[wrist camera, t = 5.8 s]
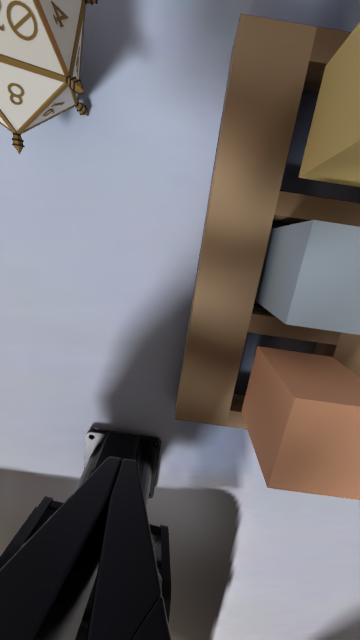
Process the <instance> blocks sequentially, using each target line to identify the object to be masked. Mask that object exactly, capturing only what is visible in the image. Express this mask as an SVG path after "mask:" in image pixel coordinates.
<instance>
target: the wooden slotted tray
mask: <svg viewBox="0 0 360 640" xmlns="http://www.w3.org/2000/svg"><path fill="white" fill-rule="evenodd" d="M351 33H352V32H346V31H340V30H334V29H328V28H322V27H316V26H310V25H304V24H298V23H292V22H286V21H280V20H274V19H268V18H263V17H257V16H251V15H245V14H241V16H240V20H239V24H238V28H237V32H236V37H235V41H234V45H233V49H232V55H231V62H230V68H229V74H228V80H227V87H226V93H225V99H224V105H223V112H222V118H221V124H220V130H219V137H218V143H217V149H216V155H215V162H214V168H213V174H212V180H211V187H210V193H209V199H208V205H207V212H206V218H205V224H204V230H203V237H202V243H201V249H200V255H199V262H198V268H197V274H196V280H195V287H194V293H193V299H192V305H191V312H190V318H189V324H188V330H187V337H186V343H185V349H184V355H183V362H182V368H181V374H180V380H179V387H178V393H177V399H176V412H175V420H183V421H190V422H197V423H205V424H212V425H219V426H227V427H234V428H241V429H247V426H246V423H245V420H244V417H243V414H242V407H243V403H244V399H245V396H243V395H236V394H234V389H235V385H236V380H237V376H238V372H239V367H240V363H241V358H242V354H243V350H244V345H245V341H246V337H247V332H249V333H256V334H263V335H270V336H277V337H283V338H290V339H297V340H304V341H311V342H317V343H316V346H315V349H314V353H313V354H316V355H323V356H330V357H333V358H334V359H336V360H337V361H338V362H340V363H341V364H342V365H344V366H345V367H346V368H348V369H349V370H350V371H352V372H353V373H354V374H356V375H357V376H358V377H360V335H356V334H349V333H343V332H336V331H329V330H322V329H315V328H308V327H301V326H294V325H287V324H285V323H283V322H282V321H281V320H280V319H278V318H277V317H276V316H274V315H273V314H272V313H270V312H269V311H268V310H267V309H261V308H254V307H253V306H254V301H255V297H256V293H257V288H258V284H259V280H260V275H261V271H262V266H263V262H264V258H265V253H266V249H267V244H268V240H269V236H270V231H271V227H272V223H273V220H274V221H280V222H287V223H293V224H296V223H301V222H306V221H310V220H318V221H325V222H331V223H338V224H344V225H351V226H357V227H360V203H354V202H348V201H341V200H335V199H328V198H322V197H316V196H309V195H303V194H296V193H290V192H283V191H280V187H281V183H282V179H283V174H284V170H285V166H286V161H287V157H288V152H289V148H290V144H291V139H292V135H293V131H294V126H295V122H296V117H297V113H298V109H299V104H300V100H301V95H302V91H303V90H305V91H311V92H317V93H319V91H320V86H321V82H322V78H323V74H324V70H325V66H326V65H327V64H328V62H329V61H330V60H331V58H332V57H333V56H334V55H335V53H336V52H337V51H338V49H339V48H340V47H341V46H342V44H343V43H344V42H345V40H346V39H347V38H348V36H349V35H350V34H351Z"/></svg>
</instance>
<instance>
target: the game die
mask: <svg viewBox="0 0 360 640" xmlns="http://www.w3.org/2000/svg"><path fill="white" fill-rule="evenodd" d="M97 1H98V0H0V124H2V125H3V126H4V127H6V128H7V129H8V130H10V131H11V132H12V133H13V138H12V140H13V144H12V145H14V147H15V148H16V150H17V151H18V153H19V154H20V152H21V150H22V148H23V147H24V146H23V142H24V141H23V140H22V138H21V134H22V133H24V132H26V131H28V130H30V129H32V128H34V127H36V126H38V125H40V124H41V123H43V122H45V121H47V120H49V119H51V118H53V117H55V116H57V115H59V114H61V113H63V112H65V111H67V110H69V109H71V108H72V107H74V106H75V107H76V109H77V111H79V112H80V115H87V116H88V113H87V108H86V106H84V105H83V104H82V102H81V103H80V102H78V97H79V94H80V93H82V92H84V90H83V86H82V83H81V80H80V71H81V58H82V45H83V32H84V19H85V6H86V4H87V3H90V4H91V5H93V3H96V4H98V3H97Z"/></svg>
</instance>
